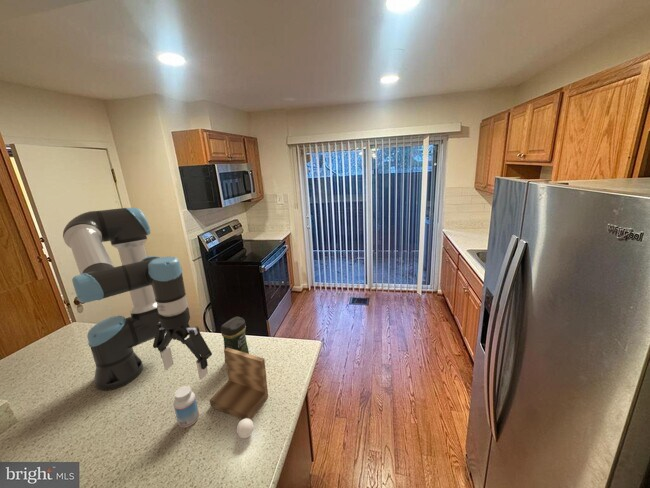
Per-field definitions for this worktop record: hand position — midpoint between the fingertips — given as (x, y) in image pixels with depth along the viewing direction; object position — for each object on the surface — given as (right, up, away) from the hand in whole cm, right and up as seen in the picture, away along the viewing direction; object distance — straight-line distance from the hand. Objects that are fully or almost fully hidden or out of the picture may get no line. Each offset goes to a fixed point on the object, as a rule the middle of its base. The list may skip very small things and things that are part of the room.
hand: (186, 371), depth 81 cm
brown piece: (+14, -15, +9) cm, 22 cm away
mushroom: (+19, -18, -2) cm, 27 cm away
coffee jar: (+6, -10, +30) cm, 32 cm away
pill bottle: (-1, -17, +3) cm, 18 cm away
